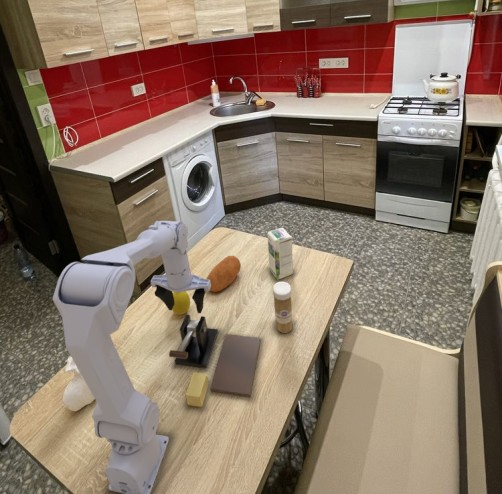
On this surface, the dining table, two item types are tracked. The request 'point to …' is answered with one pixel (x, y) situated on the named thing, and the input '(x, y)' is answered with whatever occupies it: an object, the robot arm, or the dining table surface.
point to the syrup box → (280, 253)
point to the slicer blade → (185, 341)
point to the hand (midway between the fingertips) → (186, 308)
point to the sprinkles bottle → (283, 306)
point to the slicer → (198, 344)
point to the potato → (224, 273)
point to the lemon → (181, 302)
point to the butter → (197, 389)
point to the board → (236, 365)
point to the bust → (76, 389)
